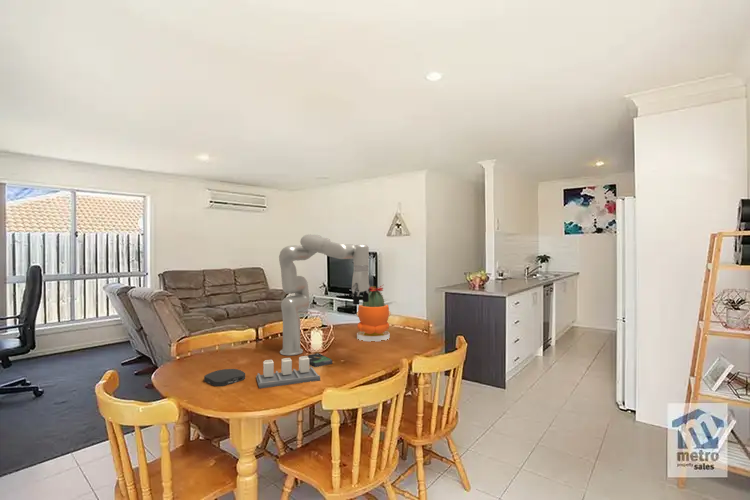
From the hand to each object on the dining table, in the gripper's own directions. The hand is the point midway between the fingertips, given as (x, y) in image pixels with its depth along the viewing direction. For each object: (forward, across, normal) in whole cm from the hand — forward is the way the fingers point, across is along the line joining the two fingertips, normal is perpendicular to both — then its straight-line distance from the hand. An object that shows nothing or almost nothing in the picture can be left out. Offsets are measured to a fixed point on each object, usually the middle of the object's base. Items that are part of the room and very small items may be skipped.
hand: (360, 303), depth 189 cm
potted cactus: (+31, -50, -18) cm, 62 cm away
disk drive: (+32, +7, -22) cm, 39 cm away
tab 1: (+29, +37, -27) cm, 54 cm away
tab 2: (+30, +31, -22) cm, 48 cm away
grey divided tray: (+31, +33, -19) cm, 49 cm away
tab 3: (+29, +25, -16) cm, 42 cm away
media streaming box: (+32, +46, -44) cm, 71 cm away
